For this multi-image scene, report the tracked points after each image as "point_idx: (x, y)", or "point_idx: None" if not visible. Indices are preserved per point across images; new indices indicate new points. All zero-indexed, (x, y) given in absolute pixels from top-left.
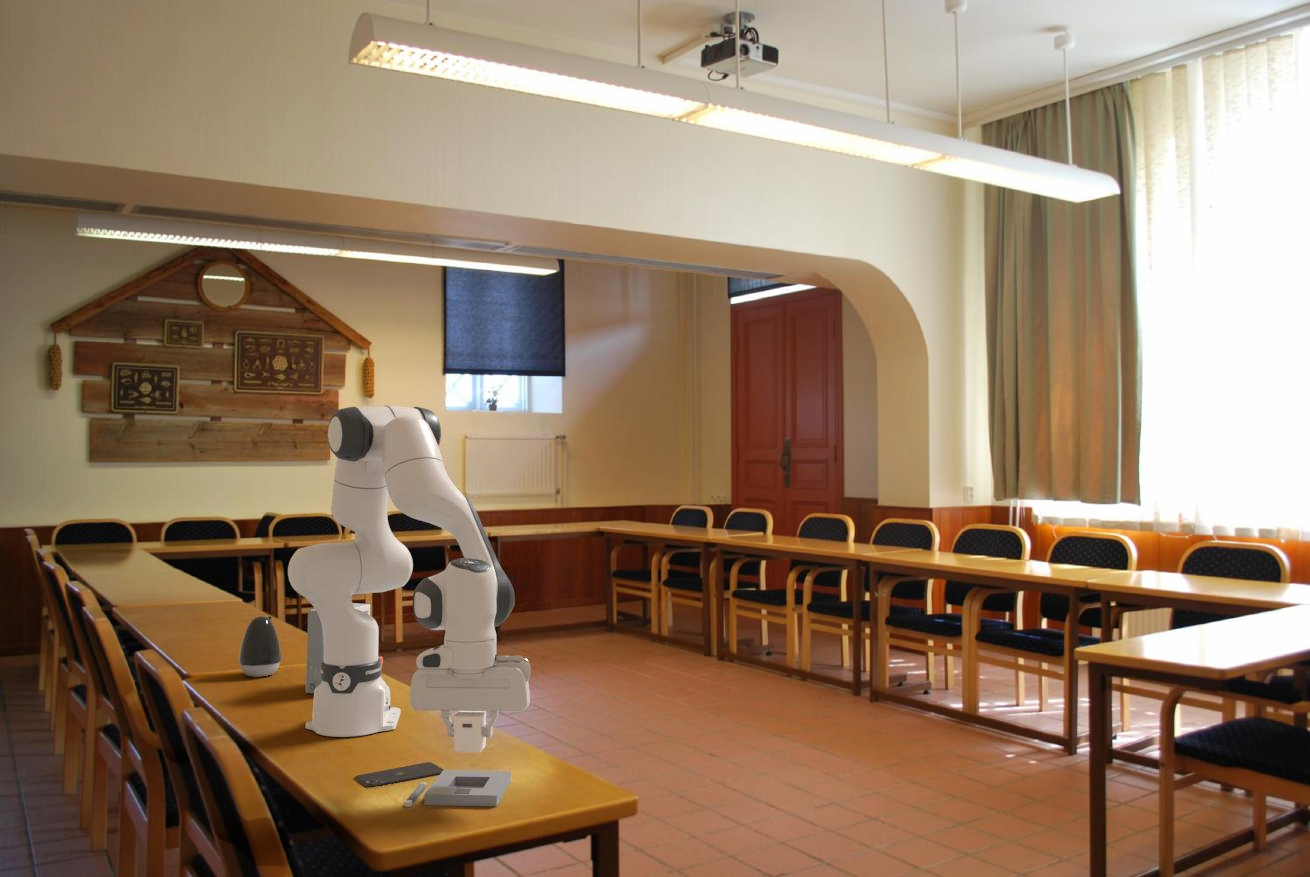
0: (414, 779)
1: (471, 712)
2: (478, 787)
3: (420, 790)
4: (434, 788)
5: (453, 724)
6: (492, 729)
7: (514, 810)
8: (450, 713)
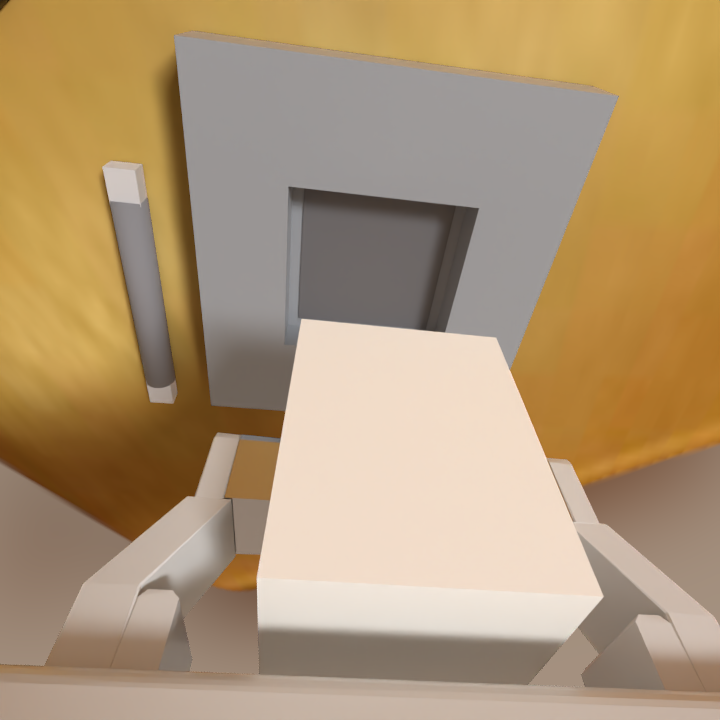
0: (2, 6)
1: (416, 641)
2: (413, 232)
3: (153, 281)
4: (230, 353)
5: (231, 501)
6: (580, 491)
7: (533, 425)
8: (183, 650)
